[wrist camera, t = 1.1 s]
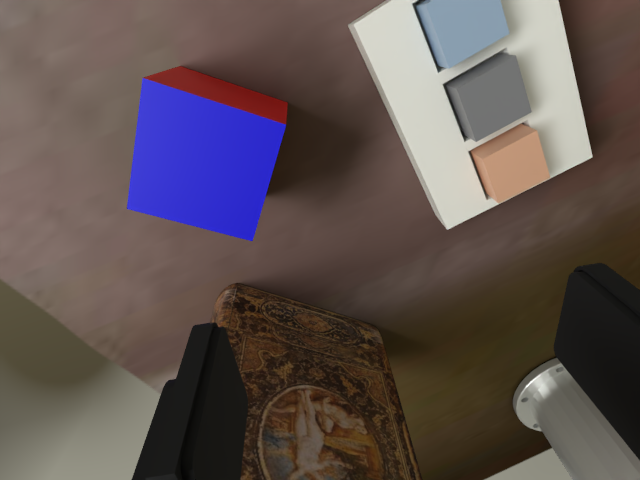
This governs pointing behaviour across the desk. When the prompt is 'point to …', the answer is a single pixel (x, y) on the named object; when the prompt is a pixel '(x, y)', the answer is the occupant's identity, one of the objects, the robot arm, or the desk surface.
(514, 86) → the charcoal button
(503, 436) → the desk surface
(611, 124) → the desk surface
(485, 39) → the slate blue button
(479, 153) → the terracotta button
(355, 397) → the book
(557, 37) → the button panel
